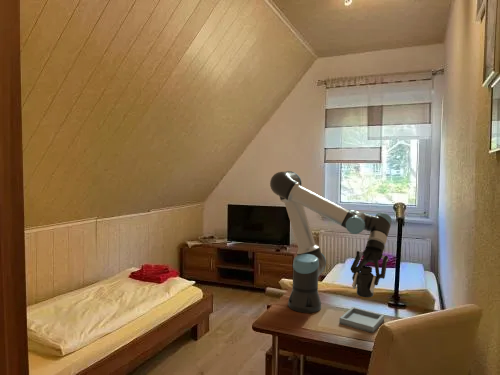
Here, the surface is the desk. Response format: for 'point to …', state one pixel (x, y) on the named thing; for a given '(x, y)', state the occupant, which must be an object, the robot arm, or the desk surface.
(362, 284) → the supplement bottle
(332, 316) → the desk surface
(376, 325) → the tray
